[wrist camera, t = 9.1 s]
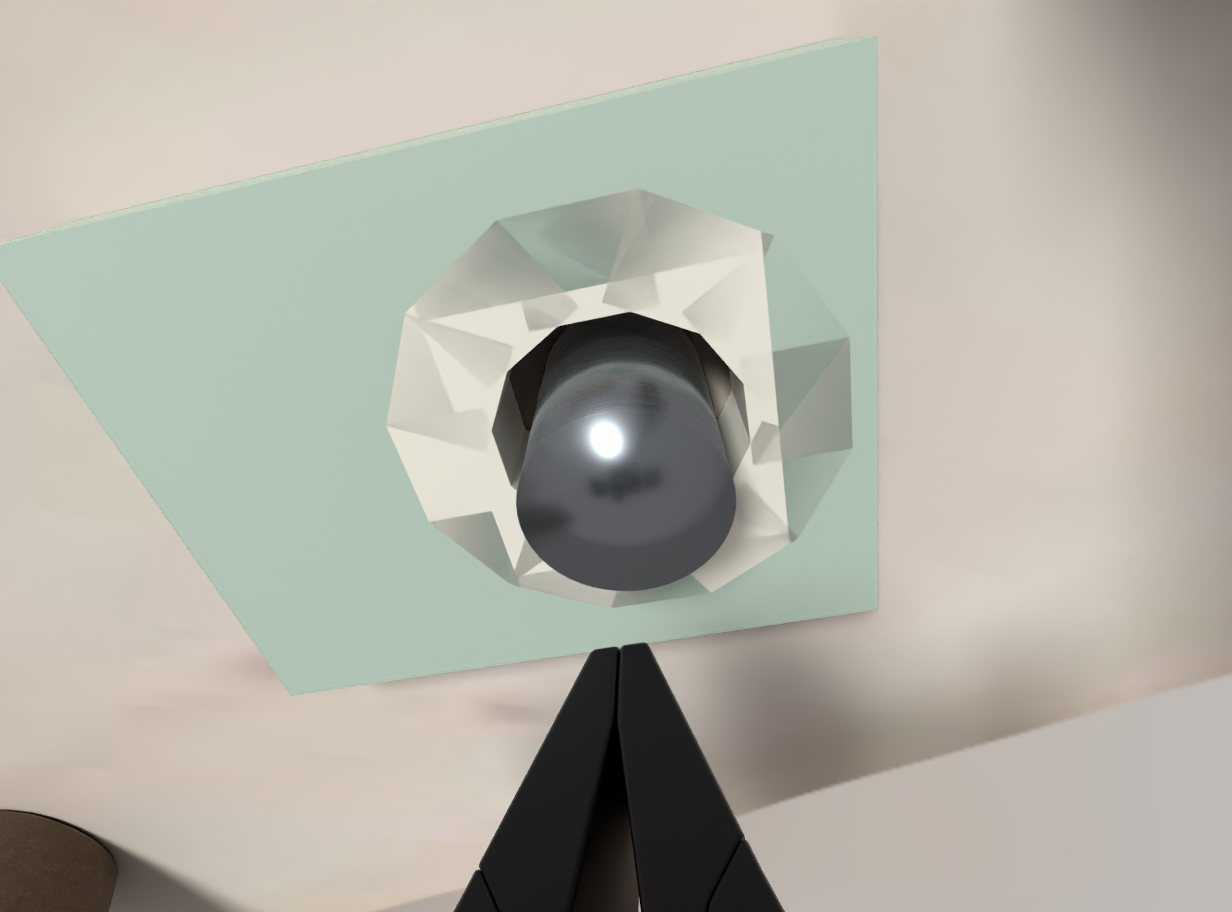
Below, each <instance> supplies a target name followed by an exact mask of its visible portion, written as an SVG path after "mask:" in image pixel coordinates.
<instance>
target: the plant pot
mask: <svg viewBox="0 0 1232 912" xmlns="http://www.w3.org/2000/svg"><path fill="white" fill-rule="evenodd" d="M116 878H117V867H116V864H115V862H114V860H113V859H112V857H111V855H110V854H109V853H108V852H107V851H106V850H105V849H104V848H103V847H102V846H101V845H100V844H99V843H97V842H96V841H95V840H93V839H92V838H90V837H88V836H87V835H85V834H83V833H81V832H79V831H78V830H76V829H74V828H72V827H70V826H67V825H65V824H62V823H60V822H57V821H54V820H51V819H47V818H44V817H41V816H37V815H33V814H27V813H20V812H12V811H0V912H109V908H110V904H111V900H112V896H113V892H114V887H115V883H116Z"/></svg>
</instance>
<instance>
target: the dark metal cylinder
mask: <svg viewBox="0 0 1232 912" xmlns="http://www.w3.org/2000/svg"><path fill="white" fill-rule="evenodd" d="M516 509H517V517H518V520H519V524H520V527H521V530H522V532H523V534H524V536H525V538H526V540H527V542H528V543H529V545H530V546H531V548H532V549H533V550H534V551H535V553H536V554H537V555H538V556H539V557H540V558H541V559H542V560H543V561H544V562H545V563H546V564H547V565H548V566H550V567H551V568H553V569H554V570H555V571H557V572H558V573H560V574H562V575H564V576H565V577H567V578H569V579H571V580H574V581H576V582H578V583H581V584H584V585H587V586H590V587H594V588H599V589H604V590H613V591H638V590H647V589H651V588H656V587H660V586H664V585H667V584H670V583H673V582H675V581H677V580H679V579H682V578H684V577H686V576H687V575H689V574H691V573H693V572H694V571H696V570H697V569H698V568H700V567H701V566H702V565H704V564H705V563H706V562H707V561H708V560H709V559H710V558H711V557H712V556H713V555H714V554H715V553H716V552H717V551H718V549H719V548H720V547H721V546H722V544H723V542H724V541H725V539H726V538H727V536H728V534H729V531H730V529H731V527H732V524H733V520H734V516H735V510H736V490H735V485H734V481H733V477H732V473H731V470H730V466H729V462H728V459H727V455H726V452H725V448H724V445H723V441H722V438H721V434H720V430H719V427H718V423H717V420H716V416H715V413H714V409H713V405H712V402H711V398H710V395H709V391H708V388H707V384H706V380H705V377H704V373H703V370H702V366H701V363H700V359H699V356H698V354H697V351H696V349H695V347H694V345H693V343H692V342H691V340H690V339H689V337H688V336H687V335H686V334H685V332H684V331H683V330H682V329H681V328H680V327H677V326H674V325H671V324H668V323H665V322H662V321H658V320H655V319H652V318H649V317H646V316H643V315H640V314H637V313H633V312H626V313H621V314H616V315H611V316H606V317H601V318H596V319H591V320H586V321H581V322H576V323H572V324H571V325H570V326H568V327H567V328H566V329H565V330H564V331H563V332H562V334H561V335H560V336H559V337H558V339H557V340H556V341H555V343H554V345H553V347H552V349H551V350H550V353H549V356H548V358H547V362H546V366H545V370H544V375H543V379H542V383H541V388H540V392H539V396H538V401H537V405H536V409H535V414H534V418H533V422H532V427H531V431H530V436H529V440H528V444H527V449H526V453H525V457H524V462H523V466H522V470H521V475H520V479H519V484H518V488H517V495H516Z"/></svg>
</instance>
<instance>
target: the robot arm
mask: <svg viewBox="0 0 1232 912" xmlns="http://www.w3.org/2000/svg"><path fill="white" fill-rule="evenodd" d="M479 868H480V870H481V871H480V870H476V871H475V872H474V874H473V876H472V878H471V880H470V882H469V884H468V886H467V888H466V890H465V892H464V893H463V895H462V897H461V899H460V901H459V903H458V904H457V906H456V908H455V910H454V912H638V904H639V899H640V907H641V912H785V911H784V909H783V908H782V906H781V904H780V902H779V901H778V899H777V897H776V895H775V893H774V891H773V889H772V888H771V886H770V884H769V882H768V880H767V878H766V877H765V875H764V873H763V871H762V869H761V867H760V865H759V863H758V861H757V859H756V857H755V855H754V853H753V851H752V849H751V847H750V845H749V843H748V842H747V841H746V840H745V837H744V834H743V832H742V830H741V828H740V826H739V824H738V822H737V820H736V818H735V816H734V814H733V812H732V810H731V808H730V806H729V804H728V802H727V800H726V798H725V796H724V794H723V792H722V790H721V788H720V786H719V784H718V782H717V780H716V778H715V776H714V774H713V772H712V770H711V768H710V766H709V764H708V762H707V760H706V758H705V756H704V754H703V752H702V750H701V748H700V746H699V744H698V742H697V740H696V738H695V736H694V734H693V732H692V730H691V728H690V726H689V724H688V722H687V720H686V718H685V716H684V714H683V712H682V711H681V709H680V707H679V705H678V703H677V701H676V699H675V697H674V695H673V693H672V691H671V689H670V687H669V685H668V683H667V681H666V679H665V677H664V675H663V673H662V671H661V669H660V667H659V665H658V663H657V661H656V659H655V657H654V655H653V653H652V651H651V649H650V647H649V645H648V644H647V643H645V642H642V643H635V644H628V645H623V646H622V647H621V649H619V648H618V647H608V648H601V649H595V650H593V651H592V652H591V653H590V655H589V657H588V658H587V660H586V662H585V664H584V666H583V668H582V670H581V672H580V674H579V676H578V677H577V679H576V681H575V683H574V685H573V687H572V689H571V691H570V693H569V695H568V696H567V698H566V700H565V702H564V704H563V706H562V708H561V710H560V712H559V713H558V715H557V717H556V719H555V721H554V723H553V725H552V727H551V729H550V731H549V732H548V734H547V736H546V738H545V740H544V742H543V744H542V746H541V748H540V750H539V751H538V753H537V755H536V757H535V759H534V761H533V763H532V765H531V767H530V769H529V770H528V772H527V774H526V776H525V778H524V780H523V782H522V784H521V786H520V788H519V789H518V791H517V793H516V795H515V797H514V799H513V801H512V803H511V805H510V806H509V808H508V810H507V812H506V814H505V816H504V818H503V820H502V822H501V824H500V825H499V827H498V829H497V831H496V833H495V835H494V837H493V839H492V841H491V843H490V844H489V846H488V848H487V850H486V852H485V854H484V856H483V858H482V860H481V862H480V864H479Z"/></svg>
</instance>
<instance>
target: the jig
mask: <svg viewBox="0 0 1232 912" xmlns="http://www.w3.org/2000/svg"><path fill="white" fill-rule="evenodd" d="M0 282H1V283H2V285H3V286H4V288H5V289H6V290H7V292H8V293H9V295H10V296H11V297H12V299H13V300H14V302H15V303H16V305H17V306H18V307H19V309H20V310H21V312H22V313H23V315H24V316H25V317H26V319H27V320H28V322H29V323H30V325H31V326H32V327H33V329H34V330H35V332H36V333H37V335H38V336H39V337H40V339H41V340H42V342H43V343H44V344H45V346H46V347H47V349H48V350H49V352H50V353H51V354H52V356H53V357H54V359H55V360H56V362H57V363H58V364H59V366H60V367H61V369H62V370H63V372H64V373H65V374H66V376H67V377H68V379H69V380H70V382H71V383H72V384H73V386H74V387H75V389H76V390H77V392H78V393H79V394H80V396H81V397H82V399H83V400H84V401H85V403H86V404H87V406H88V407H89V409H90V410H91V411H92V413H93V414H94V416H95V417H96V419H97V420H98V421H99V423H100V424H101V426H102V427H103V429H104V430H105V431H106V433H107V434H108V436H109V437H110V439H111V440H112V441H113V443H114V444H115V446H116V447H117V449H118V450H119V451H120V453H121V454H122V456H123V457H124V458H125V460H126V461H127V463H128V464H129V466H130V467H131V468H132V470H133V471H134V473H135V474H136V476H137V477H138V478H139V480H140V481H141V483H142V484H143V486H144V487H145V488H146V490H147V491H148V493H149V494H150V496H151V497H152V498H153V500H154V501H155V503H156V504H157V505H158V507H159V508H160V510H161V511H162V513H163V514H164V515H165V517H166V518H167V520H168V521H169V523H170V524H171V525H172V527H173V528H174V530H175V531H176V533H177V534H178V535H179V537H180V538H181V540H182V541H183V543H184V544H185V545H186V547H187V548H188V550H189V551H190V553H191V554H192V555H193V557H194V558H195V560H196V561H197V562H198V564H199V565H200V567H201V568H202V570H203V571H204V572H205V574H206V575H207V577H208V578H209V580H210V581H211V582H212V584H213V585H214V587H215V588H216V590H217V591H218V592H219V594H220V595H221V597H222V598H223V600H224V601H225V602H226V604H227V605H228V607H229V608H230V609H231V611H232V612H233V614H234V615H235V617H236V618H237V619H238V621H239V622H240V624H241V625H242V627H243V628H244V629H245V631H246V632H247V634H248V635H249V637H250V638H251V639H252V641H253V642H254V644H255V645H256V647H257V648H258V649H259V651H260V652H261V654H262V655H263V657H264V658H265V659H266V661H267V662H268V664H269V665H270V666H271V668H272V669H273V671H274V672H275V674H276V675H277V676H278V678H279V679H280V681H281V682H282V684H283V685H284V686H285V688H286V689H287V691H288V692H289V694H290V695H291V696H293V695H300V694H306V693H313V692H320V691H327V690H334V689H340V688H347V687H354V686H361V685H368V684H375V683H381V682H388V681H395V680H402V679H409V678H415V677H422V676H429V675H436V674H443V673H449V672H456V671H463V670H470V669H477V668H484V667H490V666H497V665H504V664H511V663H518V662H524V661H531V660H538V659H545V658H552V657H559V656H565V655H572V654H579V653H586V652H592V651H593V650H595V649H601V648H608V647H618V648H620V647H622V646H623V645H628V644H635V643H642V642H645V643H654V642H661V641H668V640H674V639H681V638H688V637H695V636H702V635H708V634H715V633H722V632H729V631H736V630H743V629H749V628H756V627H763V626H770V625H777V624H783V623H790V622H797V621H804V620H811V619H818V618H824V617H831V616H838V615H845V614H852V613H858V612H865V611H872V610H878V146H877V36H872V37H861V38H849V39H838V40H828V41H824V42H820V43H816V44H812V45H808V46H803V47H799V48H795V49H791V50H787V51H782V52H778V53H774V54H770V55H766V56H762V57H757V58H753V59H749V60H745V61H741V62H736V63H732V64H728V65H724V66H720V67H716V68H711V69H707V70H703V71H699V72H695V73H691V74H686V75H682V76H678V77H674V78H670V79H665V80H661V81H657V82H653V83H649V84H645V85H640V86H636V87H632V88H628V89H624V90H619V91H615V92H611V93H607V94H603V95H599V96H594V97H590V98H586V99H582V100H578V101H573V102H569V103H565V104H561V105H557V106H553V107H548V108H544V109H540V110H536V111H532V112H528V113H523V114H519V115H515V116H511V117H507V118H502V119H498V120H494V121H490V122H486V123H482V124H477V125H473V126H469V127H465V128H461V129H456V130H452V131H448V132H444V133H440V134H436V135H431V136H427V137H423V138H419V139H415V140H411V141H406V142H402V143H398V144H394V145H390V146H385V147H381V148H377V149H373V150H369V151H365V152H360V153H356V154H352V155H348V156H344V157H339V158H335V159H331V160H327V161H323V162H319V163H314V164H310V165H306V166H302V167H298V168H293V169H289V170H285V171H281V172H277V173H273V174H268V175H264V176H260V177H256V178H252V179H248V180H243V181H239V182H235V183H231V184H227V185H222V186H218V187H214V188H210V189H206V190H202V191H197V192H193V193H189V194H185V195H181V196H176V197H172V198H168V199H164V200H160V201H156V202H151V203H147V204H143V205H139V206H135V207H131V208H126V209H122V210H118V211H114V212H110V213H105V214H101V215H97V216H93V217H89V218H85V219H80V220H77V221H74V222H70V223H67V224H64V225H60V226H57V227H54V228H50V229H47V230H44V231H40V232H37V233H34V234H30V235H27V236H24V237H20V238H17V239H14V240H10V241H7V242H4V243H0ZM626 312H633V313H637V314H640V315H643V316H646V317H649V318H652V319H655V320H658V321H662V322H665V323H668V324H671V325H674V326H677V327H680V328H684V329H687V330H690V331H693V332H696V333H699V334H701V335H702V337H703V338H704V339H705V340H706V341H707V342H708V343H709V345H710V346H711V347H712V348H713V349H714V350H715V352H716V353H717V354H718V355H719V356H720V357H721V358H722V360H723V361H724V362H725V363H726V364H727V365H728V366H729V372H730V380H731V387H732V390H731V392H730V395H729V397H728V399H727V401H726V403H725V405H724V407H723V410H722V412H721V414H720V416H719V418H718V420H717V423H718V427H719V430H720V434H721V438H722V441H723V445H724V448H725V452H726V455H727V459H728V462H729V466H730V470H731V473H732V477H733V481H734V485H735V490H736V510H735V516H734V520H733V524H732V527H731V529H730V531H729V534H728V536H727V538H726V539H725V541H724V542H723V544H722V546H721V547H720V548H719V549H718V551H717V552H716V553H715V554H714V555H713V556H712V557H711V558H710V559H709V560H708V561H707V562H706V563H705V564H704V565H702V566H701V567H700V568H698V569H697V570H696V571H694V572H693V573H691V574H689V575H687V576H686V577H684V578H682V579H679V580H677V581H675V582H673V583H670V584H667V585H664V586H660V587H656V588H651V589H647V590H638V591H613V590H604V589H599V588H594V587H590V586H587V585H584V584H581V583H578V582H576V581H574V580H571V579H569V578H567V577H565V576H564V575H562V574H560V573H558V572H557V571H555V570H554V569H553V568H551V567H550V566H548V565H547V564H546V563H545V562H544V561H543V560H542V559H541V558H540V557H539V556H538V555H537V554H536V553H535V551H534V550H533V549H532V548H531V546H530V545H529V543H528V542H527V540H526V538H525V536H524V534H523V532H522V530H521V527H520V524H519V520H518V517H517V509H516V495H517V488H518V484H519V479H520V475H521V470H522V466H523V462H524V457H525V453H526V449H527V444H528V440H529V436H530V432H529V431H528V430H527V429H526V428H525V426H524V423H523V420H522V417H521V414H520V411H519V408H518V404H517V401H516V398H515V395H514V392H513V389H512V386H511V383H510V379H509V377H510V373H511V369H512V367H513V366H514V365H515V364H516V363H517V362H518V361H520V360H521V359H522V358H523V357H524V356H525V355H526V354H527V353H528V352H530V351H531V350H532V349H533V348H534V347H535V346H536V345H537V344H539V343H540V342H541V341H542V340H543V339H544V338H545V337H546V336H548V335H549V334H550V333H551V332H552V331H553V330H554V329H555V328H556V327H558V326H561V325H566V324H571V323H576V322H581V321H586V320H591V319H596V318H601V317H606V316H611V315H616V314H621V313H626Z"/></svg>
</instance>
